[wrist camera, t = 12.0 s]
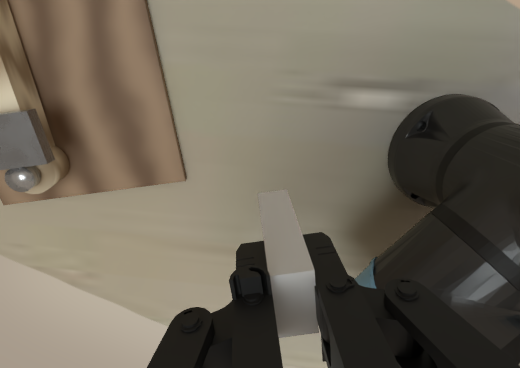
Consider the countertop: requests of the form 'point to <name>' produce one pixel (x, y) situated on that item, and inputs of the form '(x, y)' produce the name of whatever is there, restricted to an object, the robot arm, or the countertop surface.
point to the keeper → (23, 140)
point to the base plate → (99, 95)
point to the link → (25, 96)
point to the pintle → (22, 178)
